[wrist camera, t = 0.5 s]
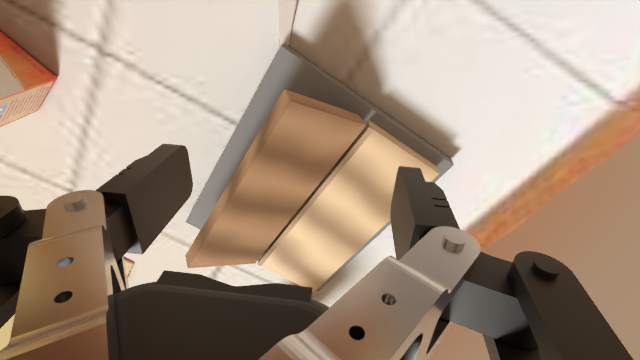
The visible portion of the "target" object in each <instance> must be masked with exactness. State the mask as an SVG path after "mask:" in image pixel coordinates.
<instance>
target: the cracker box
mask: <svg viewBox="0 0 640 360" xmlns="http://www.w3.org/2000/svg"><path fill="white" fill-rule="evenodd" d="M56 79H57V77H56V76H55V75H53V74H52V73H51V72H50V71H48V70H47V69H46V68H45V67H44V66H42V65H41V64H40V63H39V62H38V61H36V60H35V59H34V58H33V57H31V56H30V55H29V54H28V53H27V52H25V51H24V50H23V49H22V48H20V47H19V46H18V45H17V44H16V43H14V42H13V41H12V40H11V39H9V38H8V37H7V36H6V35H5V34H3V33H2V32H1V31H0V127H1V126H4V125H6V124H8V123H11V122H13V121H15V120H17V119H20V118H22V117H25V116H27V115H29V114H31V113H34V112H36V111H37V110H38V109H39V108H40V106H41V104H42V103H43V101H44V99H45V97H46V96H47V94H48V92H49V91H50V89H51V87H52V85H53V83H54V82H55V80H56Z"/></svg>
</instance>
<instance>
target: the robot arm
mask: <svg viewBox="0 0 640 360" xmlns="http://www.w3.org/2000/svg"><path fill="white" fill-rule="evenodd" d="M192 187H193V182H192V175H191V169H190V163H189V157H188V151H187V149H186V147H185V146H183V145H172V144H162V145H161V146H159V147H158V148H157V149H156V150H154V151H153V152H152V153H150V154H149V155H147V156H145V157H143V158H140V159H138V160H135V161H134V162H133V163H131V164H130V165H129V166H127V167H126V169H124V170H122V171H121V172H120V173H119V175H116V176H114V177H113V178H112V179H110V180H109V181H108V182H106V183H105V184H104V185H102V186H101V187H100V188H98V189H97V190H96V191H94V190H82V191H75V192H71V193H68V194H65V195H62V196H60V197H58V198H56V199H54V200H53V201H52V202H51V203H49V205H48V206H47V208H46V209H40V210H28V211H23V209H22V207H21V205H20V203H19V201H18V199H17V198H15V197H12V196H0V328H1V327H2V326H3V325H4V324H5V323H6V322H7V321H8V320H9V319H10V318H11V317H12V316H13V315H14V314H15V318H14V322H13V327H12V332H11V338H10V342H9V344H8V346H7V347H5V348H3V349H2V350H1V351H0V360H428V358H429V357H430V355H431V354H432V352H433V351H434V349H435V348H436V347H437V345H438V343H439V342H440V341H441V339H442V338H443V336H444V335H445V333H446V332H447V330H448V329H449V327H450V326H451V324H452V323H453V322H454V323H456V324H459V325H462V326H464V327H467V328H469V329H472V330H474V331H477V332H479V333H482V334H483V336H484V340H485V343H486V346H487V350H488V353H489V356H490V360H633V359H632V357H631V356H630V354H629V353H628V351H627V350H626V349H625V347H624V346H623V344H622V343H621V341H620V340H619V339H618V337H617V336H616V334H615V333H614V331H613V330H612V328H611V327H610V326H609V324H608V323H607V321H606V320H605V319H604V317H603V315H602V314H601V313H600V311H599V310H598V308H597V307H596V305H595V304H594V302H593V301H592V300H591V298H590V297H589V295H588V294H587V292H586V291H585V289H584V288H583V286H582V285H581V284H580V282H579V281H578V279H577V278H576V276H575V275H574V274H573V272H572V271H571V270H570V269H569V268H568V267H567V266H565V265H564V264H563V263H561V262H560V261H557V260H556V259H554V258H552V257H550V256H548V255H545V254H542V253H537V252H531V251H525V252H521V253H518V254H517V255H516V256H515V258H514V260H513V262H509V261H505V260H502V259H499V258H496V257H492V256H490V255H487V254H485V253H483V252H481V248H480V245H479V243H478V242H477V240H476V239H475V238H474V237H472V236H471V235H470V234H468V233H466V232H465V231H462V230H460V228H459V226H458V224H457V222H456V219H455V217H454V215H453V212H452V210H451V208H450V206H449V203H448V201H447V199H446V196H445V194H444V192H443V190H442V189H441V188H440V187H438V186H437V185H436V184H435V183H434V182H425V179H424V176H423V174H422V171H421V168H416V167H405V166H399V168H398V171H397V176H396V181H395V186H394V191H393V196H392V201H391V210H390V218H391V225H392V232H393V238H394V245H395V252H396V258H397V259H396V258H394V257H392V256H388V257H386V258H385V259H384V260H383V261H382V262H380V263H379V264H378V265H377V266H376V267H375V268H374V269H373V270H371V271H370V272H369V273H368V274H367V275H366V276H365V277H364V278H362V279H361V280H360V281H359V282H358V283H357V284H356V285H355V286H353V287H352V288H351V289H350V290H349V291H348V292H347V293H346V294H344V295H343V296H342V297H341V298H340V299H339V300H338V301H337V302H335V303H334V304H333V305H332V306H331V307H330V308H329V307H327V306H326V305H324V304H322V303H320V302H317V301H315V300H312V289H313V288H312V287H304V286H295V285H286V284H277V283H273V284H262V285H250V286H238V287H235V286H230V285H228V284H225V283H222V282H219V281H216V280H214V279H211V278H208V277H205V276H203V275H199V274H190V273H182V272H173V271H164V272H163V273H162V275H161V276H160V278H159V279H158V281H157V282H152V283H146V284H142V285H138V286H134V287H131V288H129V287H128V280H127V274H126V267H125V263H124V259H123V255H124V254H125V253H135V254H143V253H144V252H145V251H146V250H147V248H148V247H149V246H150V245H151V243H152V242H153V241H154V240H155V239H156V237H157V236H158V235H159V234H160V232H161V231H162V230H163V229H164V228H165V226H166V225H167V224H168V223H169V221H170V220H171V219H172V218H173V217H174V215H175V214H176V213H177V212H178V211H179V209H180V208H181V207H182V206H183V204H184V203H185V202H186V201H187V200H188V198H189V197H190V195H191V192H192Z"/></svg>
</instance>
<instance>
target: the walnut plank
mask: <svg viewBox="0 0 640 360" xmlns="http://www.w3.org/2000/svg"><path fill="white" fill-rule="evenodd" d="M365 126H366V124H365V123H364V121H363V120H362V118H361V117H360V116H359V114H356V113H353V112H350V111H347V110H344V109H341V108H338V107H335V106H333V105H330V104H327V103H324V102H321V101H318V100H315V99H312V98H309V97H306V96H303V95H301V94H298V93H295V92H292V91H289V90H286V89H284V91H283V92H282V94H281V96H280V97H279V99H278V101H277V102H276V104H275V106H274V108H273V109H272V111H271V113H270V114H269V116H268V118H267V119H266V121H265V123H264V124H263V126H262V128H261V129H260V131H259V133H258V134H257V136H256V138H255V140H254V141H253V143H252V145H251V146H250V148H249V150H248V151H247V153H246V155H245V156H244V158H243V160H242V161H241V163H240V165H239V167H238V168H237V170H236V172H235V173H234V175H233V177H232V178H231V180H230V182H229V183H228V185H227V187H226V188H225V190H224V192H223V193H222V195H221V197H220V199H219V200H218V202H217V204H216V205H215V207H214V209H213V210H212V212H211V214H210V215H209V217H208V219H207V220H206V222H205V224H204V225H203V227H202V229H201V231H200V232H199V234H198V236H197V237H196V239H195V241H194V242H193V244H192V246H191V247H190V249H189V251H188V252H187V254H186V261H187V266H188V268H195V267H210V266H224V265H238V264H252V263H256V262H257V260H258V259H259V258H260V257H261V255H262V254H263V253H264V252H265V250H266V249H267V248H268V247H269V246H270V244H271V243H272V242H273V241H274V239H275V238H276V237H277V236H278V234H279V233H280V232H281V231H282V229H283V228H284V227H285V226H286V224H287V223H288V222H289V221H290V219H291V218H292V217H293V216H294V215H295V213H296V212H297V211H298V210H299V208H300V207H301V206H302V205H303V203H304V202H305V201H306V200H307V198H308V197H309V196H310V195H311V193H312V192H313V191H314V190H315V188H316V187H317V186H318V185H319V184H320V182H321V181H322V180H323V179H324V177H325V176H326V175H327V174H328V172H329V171H330V170H331V169H332V167H333V166H334V165H335V164H336V162H337V161H338V160H339V159H340V157H341V156H342V155H343V154H344V153H345V151H346V150H347V149H348V148H349V146H350V145H351V144H352V143H353V141H354V140H355V139H356V138H357V136H358V135H359V134H360V133H361V131H362V130H363V129H364V128H365Z"/></svg>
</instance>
